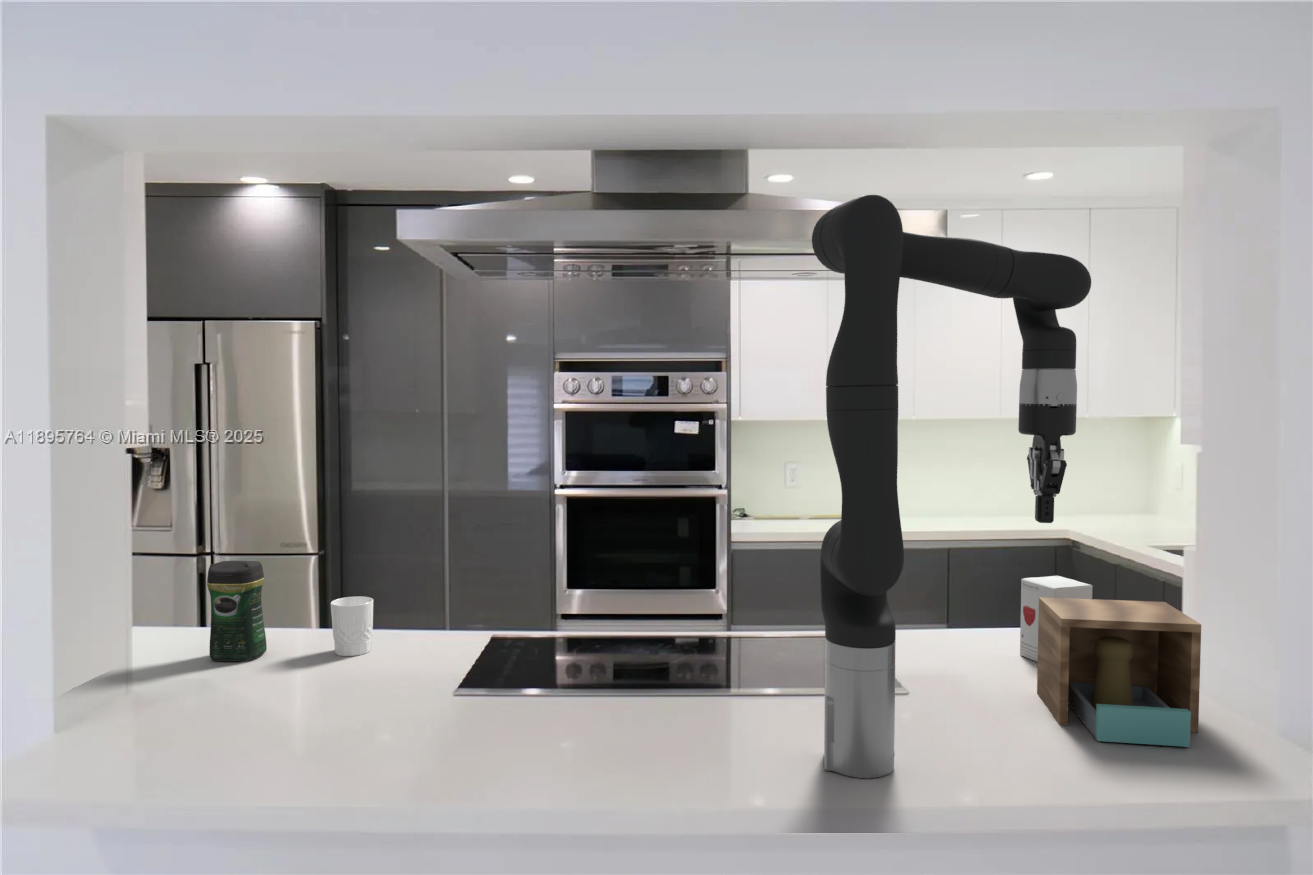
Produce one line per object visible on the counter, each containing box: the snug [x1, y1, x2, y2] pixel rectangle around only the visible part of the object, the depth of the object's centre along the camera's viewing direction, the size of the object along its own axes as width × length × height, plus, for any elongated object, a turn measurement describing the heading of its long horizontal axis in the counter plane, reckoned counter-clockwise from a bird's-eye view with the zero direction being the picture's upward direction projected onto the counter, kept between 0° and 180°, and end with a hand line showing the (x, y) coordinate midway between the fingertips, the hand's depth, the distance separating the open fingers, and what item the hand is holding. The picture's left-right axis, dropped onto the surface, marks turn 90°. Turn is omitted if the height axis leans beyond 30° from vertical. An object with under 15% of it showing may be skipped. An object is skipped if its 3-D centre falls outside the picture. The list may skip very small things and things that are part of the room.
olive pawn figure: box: [1091, 636, 1134, 710], centre depth 136 cm, size 6×6×11 cm
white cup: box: [330, 595, 374, 657], centre depth 172 cm, size 8×8×10 cm
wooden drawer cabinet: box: [1036, 597, 1202, 734], centre depth 138 cm, size 19×14×16 cm
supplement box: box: [1019, 575, 1094, 663], centre depth 165 cm, size 9×9×15 cm
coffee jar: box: [206, 560, 267, 662], centre depth 168 cm, size 10×8×19 cm
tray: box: [1068, 682, 1191, 748], centre depth 133 cm, size 12×17×5 cm
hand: (1044, 522), depth 126 cm, fingers closed
